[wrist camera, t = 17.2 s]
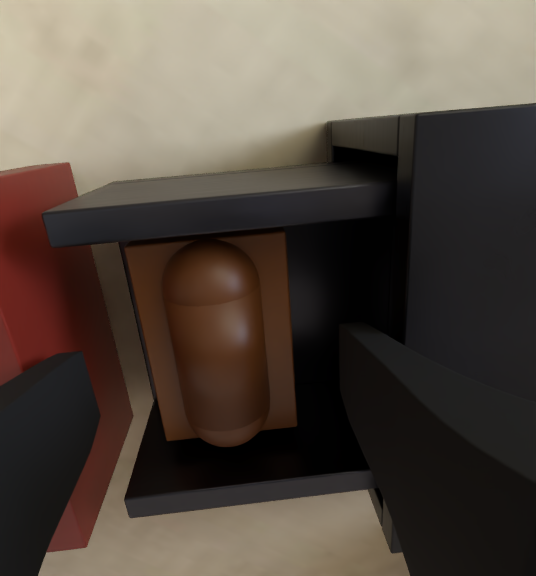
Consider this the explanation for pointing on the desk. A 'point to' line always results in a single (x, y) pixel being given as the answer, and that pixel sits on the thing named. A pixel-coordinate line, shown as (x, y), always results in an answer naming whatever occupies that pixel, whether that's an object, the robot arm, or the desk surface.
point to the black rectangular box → (459, 241)
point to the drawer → (100, 342)
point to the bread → (217, 332)
